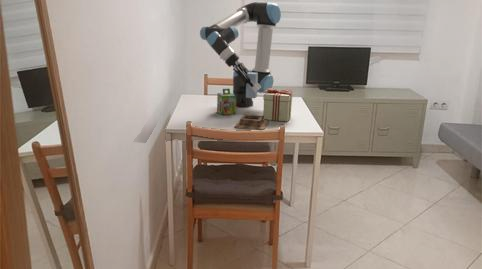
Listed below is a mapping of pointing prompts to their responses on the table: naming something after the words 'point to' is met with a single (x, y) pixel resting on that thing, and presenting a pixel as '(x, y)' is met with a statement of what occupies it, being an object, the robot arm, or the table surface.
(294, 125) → the table surface
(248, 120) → the cradle
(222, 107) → the chalk box
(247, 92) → the block
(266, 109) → the gift box
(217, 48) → the robot arm
